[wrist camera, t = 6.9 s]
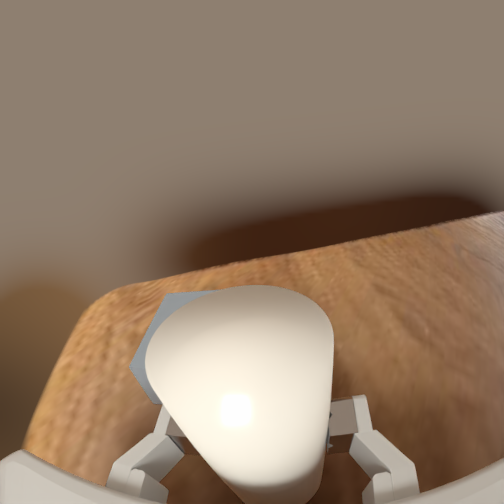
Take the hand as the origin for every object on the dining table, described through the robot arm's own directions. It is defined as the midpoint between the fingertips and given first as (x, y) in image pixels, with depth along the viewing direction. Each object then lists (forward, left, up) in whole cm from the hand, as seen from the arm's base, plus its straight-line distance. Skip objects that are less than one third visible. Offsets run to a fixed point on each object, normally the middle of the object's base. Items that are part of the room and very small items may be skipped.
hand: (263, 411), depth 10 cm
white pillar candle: (+1, 0, -6) cm, 6 cm away
